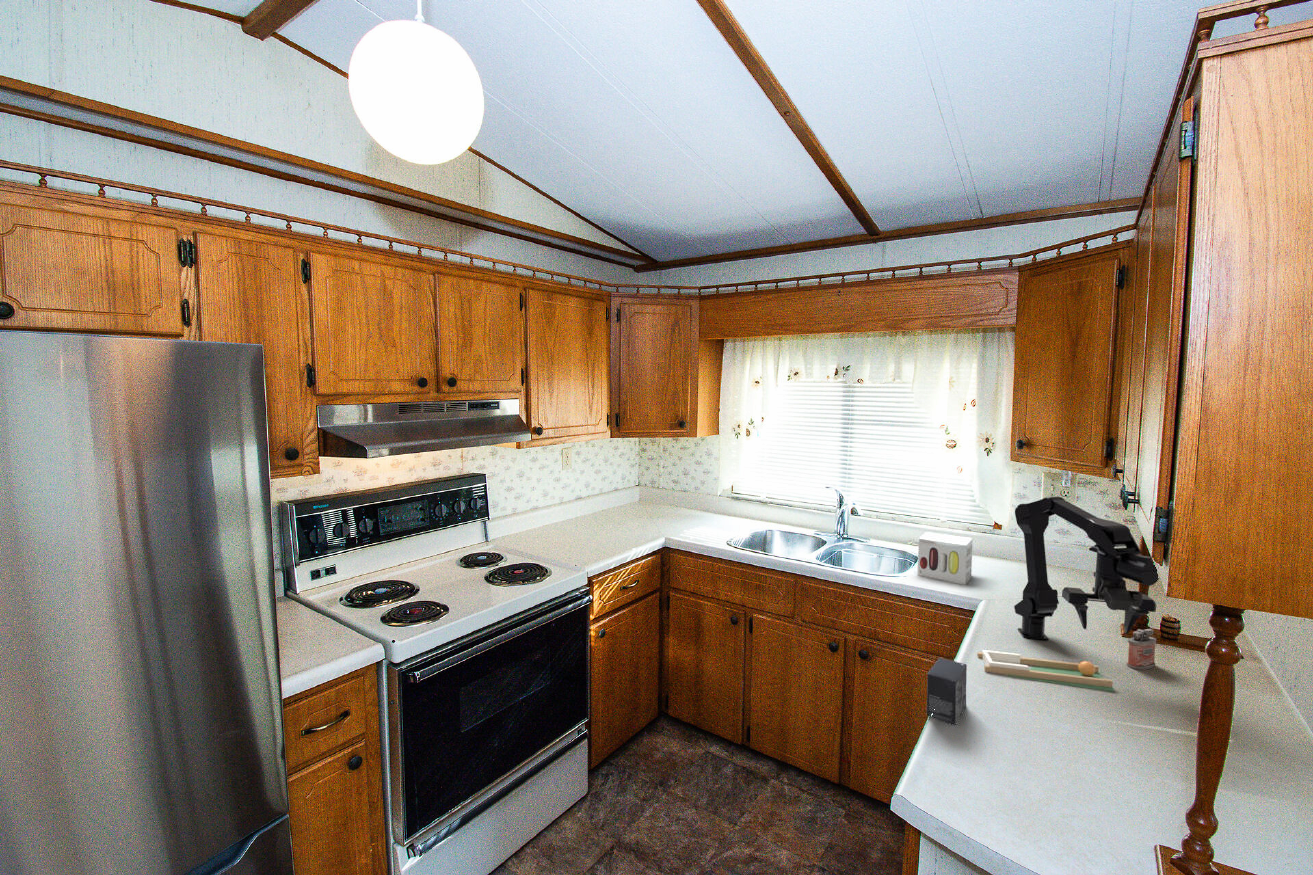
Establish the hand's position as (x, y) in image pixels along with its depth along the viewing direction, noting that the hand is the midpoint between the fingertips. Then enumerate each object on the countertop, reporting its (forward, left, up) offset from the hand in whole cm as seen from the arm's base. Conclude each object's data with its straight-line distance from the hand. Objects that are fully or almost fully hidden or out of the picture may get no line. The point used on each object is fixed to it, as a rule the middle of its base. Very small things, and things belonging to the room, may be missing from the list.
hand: (1105, 630), depth 151 cm
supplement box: (-70, -26, -12) cm, 76 cm away
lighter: (-8, +12, -12) cm, 18 cm away
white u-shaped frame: (+5, -23, -11) cm, 26 cm away
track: (+5, -15, -12) cm, 20 cm away
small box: (+32, -42, -12) cm, 54 cm away
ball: (+4, -5, -9) cm, 11 cm away
